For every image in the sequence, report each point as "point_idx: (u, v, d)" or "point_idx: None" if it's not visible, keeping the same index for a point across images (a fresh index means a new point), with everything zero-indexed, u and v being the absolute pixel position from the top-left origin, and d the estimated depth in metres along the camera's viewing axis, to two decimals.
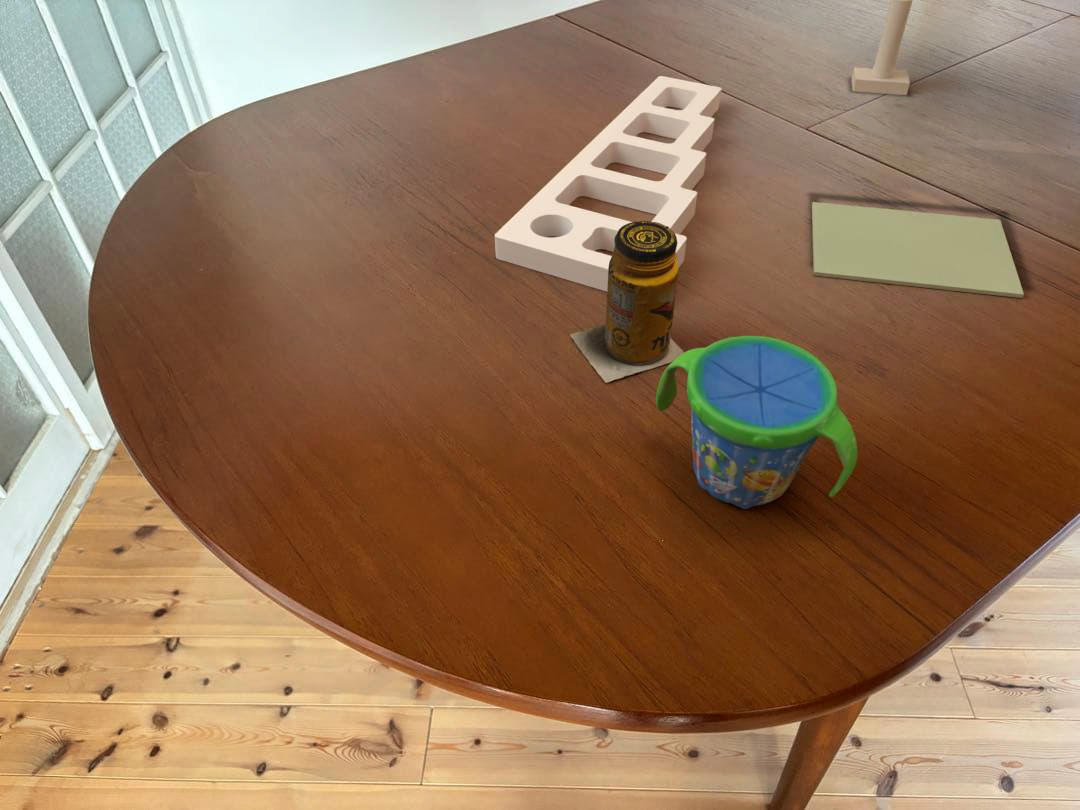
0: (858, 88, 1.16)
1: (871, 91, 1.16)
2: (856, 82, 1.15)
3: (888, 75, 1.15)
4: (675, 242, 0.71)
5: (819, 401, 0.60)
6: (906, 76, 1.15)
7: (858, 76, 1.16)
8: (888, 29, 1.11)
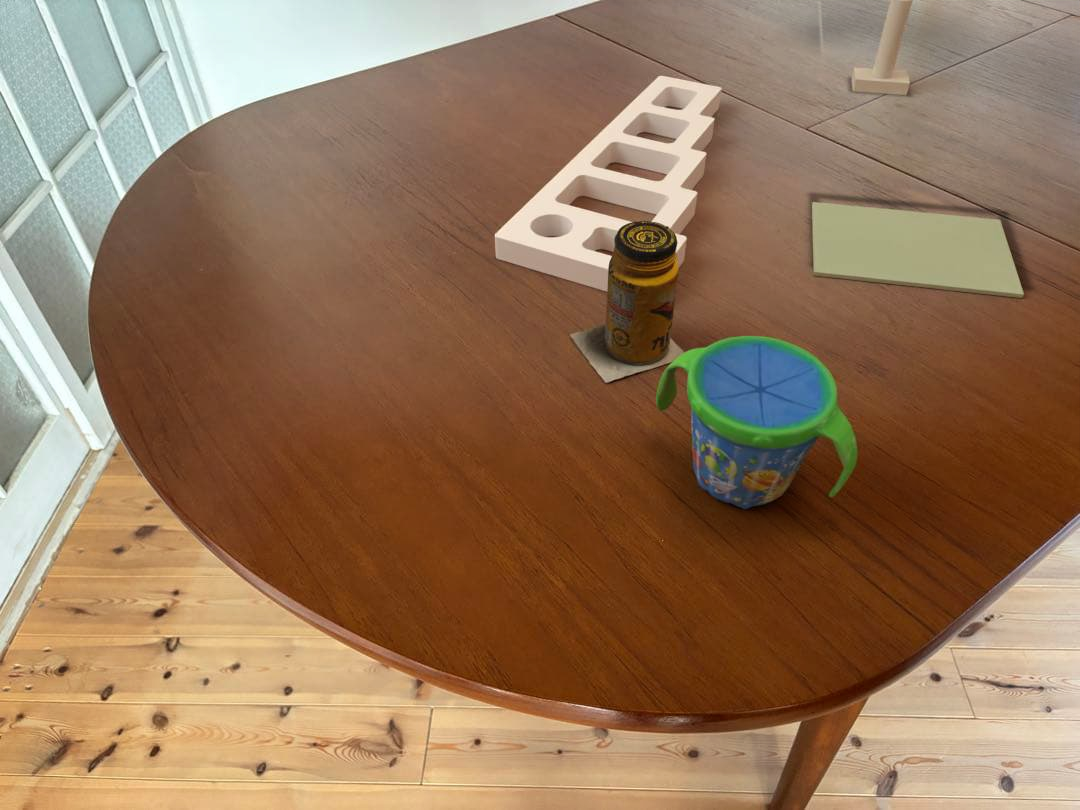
0: (858, 88, 1.16)
1: (871, 91, 1.16)
2: (856, 82, 1.15)
3: (888, 75, 1.15)
4: (675, 242, 0.71)
5: (819, 401, 0.60)
6: (906, 76, 1.15)
7: (858, 76, 1.16)
8: (888, 29, 1.11)
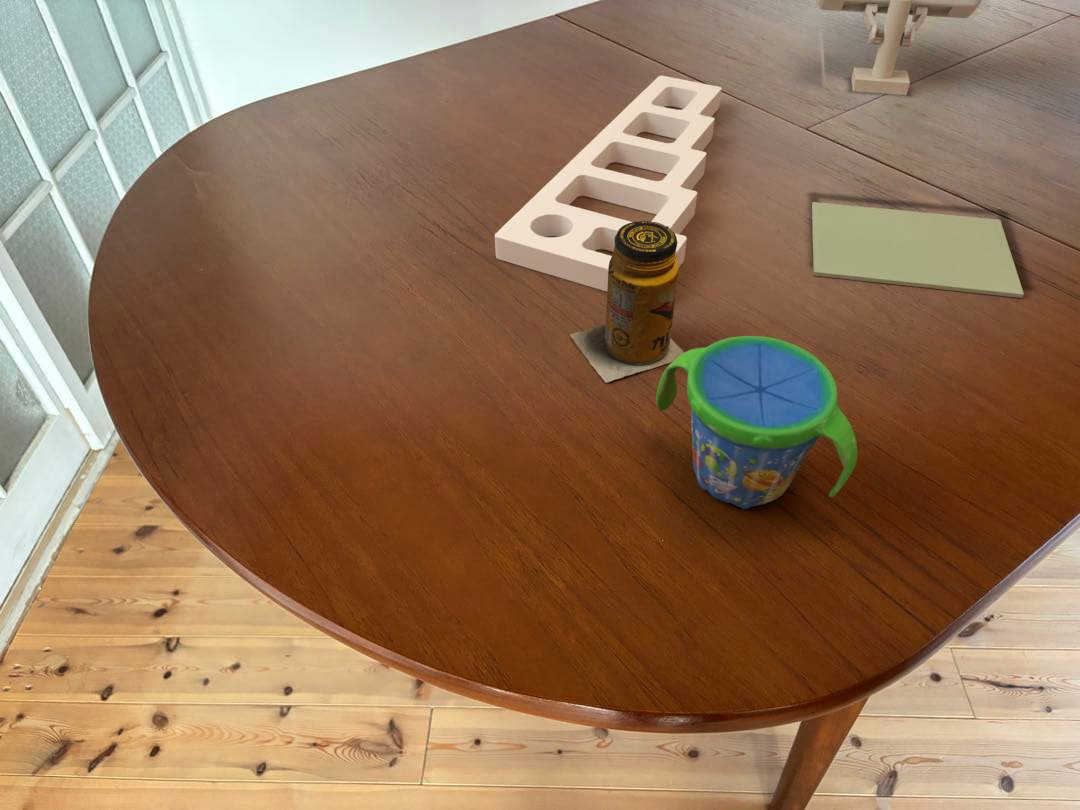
0: (858, 88, 1.16)
1: (871, 91, 1.16)
2: (856, 82, 1.15)
3: (888, 75, 1.15)
4: (675, 242, 0.71)
5: (819, 401, 0.60)
6: (906, 76, 1.15)
7: (858, 76, 1.16)
8: (888, 29, 1.11)
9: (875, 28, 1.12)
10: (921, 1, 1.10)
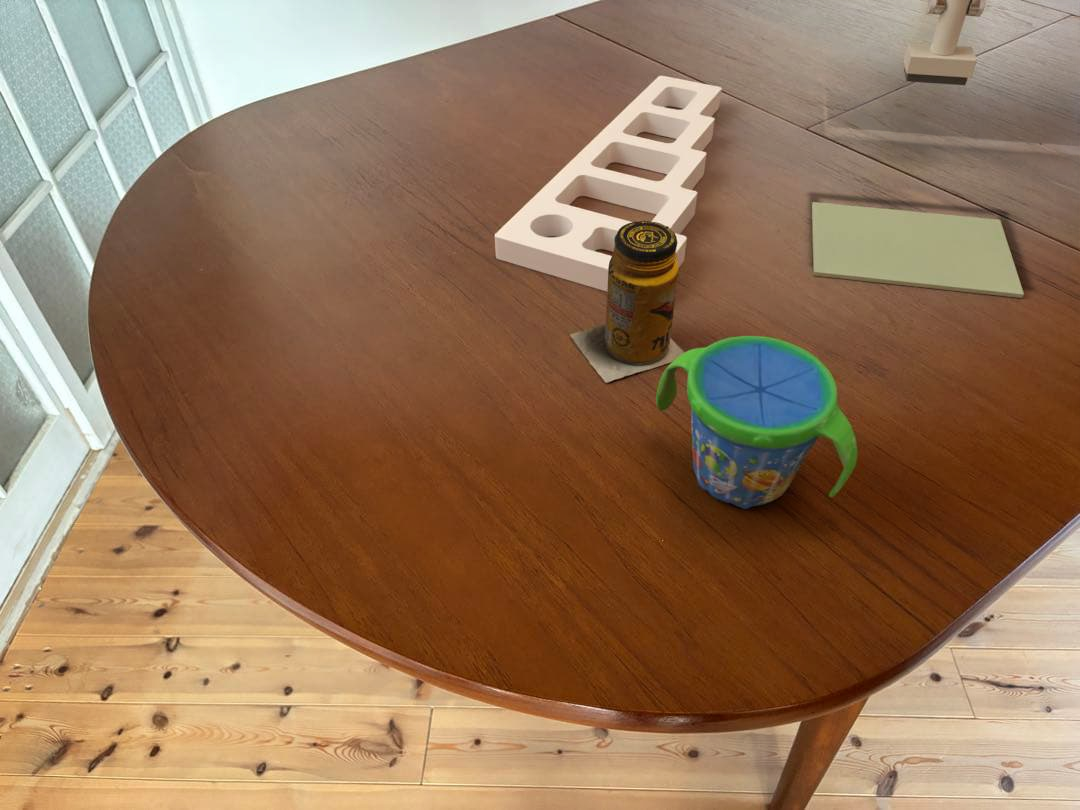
0: (913, 67, 0.97)
1: (929, 71, 0.97)
2: (911, 60, 0.96)
3: (950, 51, 0.96)
4: (675, 242, 0.71)
5: (819, 401, 0.60)
6: (971, 53, 0.96)
7: (913, 52, 0.96)
8: None
9: None
10: None
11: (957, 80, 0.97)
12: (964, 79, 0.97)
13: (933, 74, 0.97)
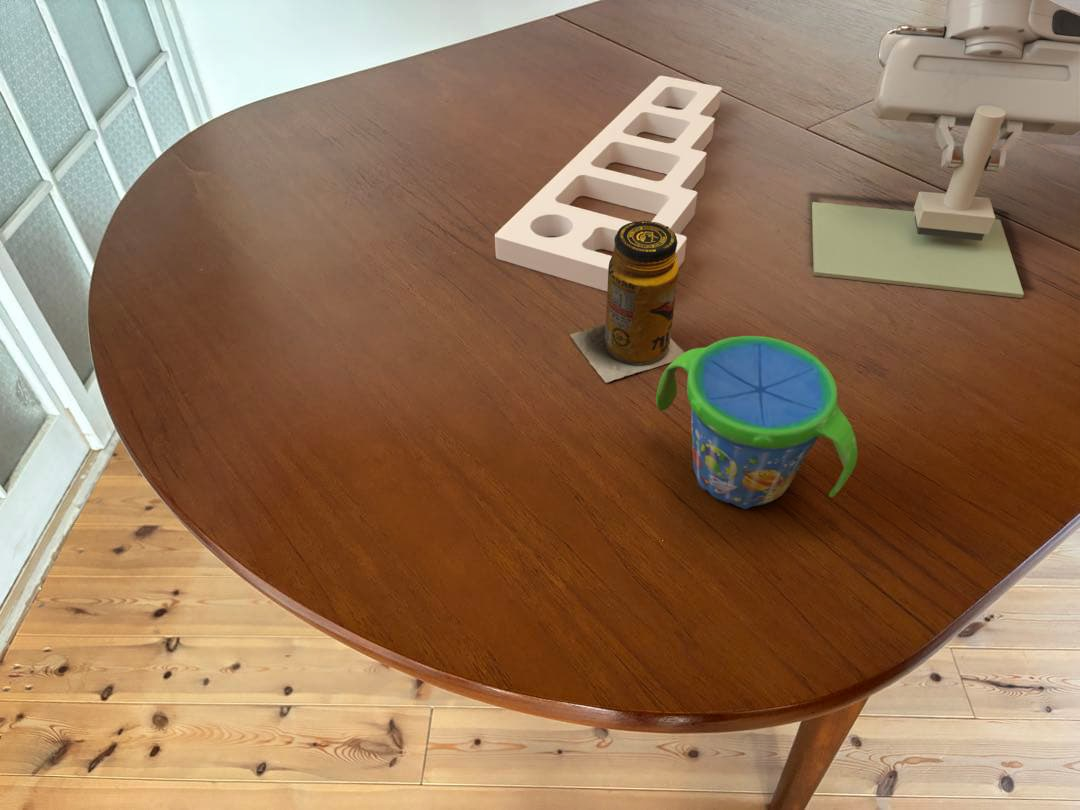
0: (926, 221, 0.88)
1: (943, 225, 0.88)
2: (923, 214, 0.88)
3: (966, 206, 0.87)
4: (675, 242, 0.71)
5: (819, 401, 0.60)
6: (989, 207, 0.88)
7: (926, 205, 0.88)
8: (969, 151, 0.84)
9: (952, 148, 0.85)
10: (1014, 115, 0.83)
11: (973, 235, 0.89)
12: (981, 235, 0.88)
13: (947, 229, 0.89)
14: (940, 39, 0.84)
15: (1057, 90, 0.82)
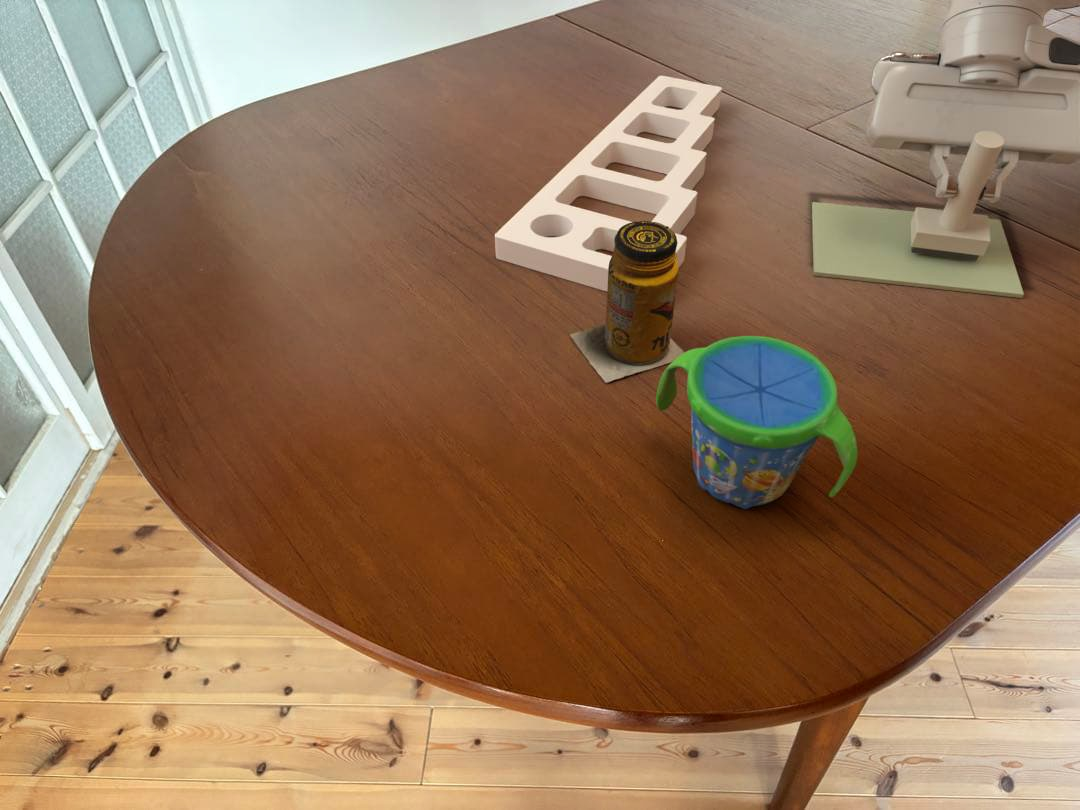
0: (919, 242, 0.87)
1: (937, 246, 0.87)
2: (917, 235, 0.87)
3: (961, 228, 0.86)
4: (675, 242, 0.71)
5: (819, 401, 0.60)
6: (986, 228, 0.86)
7: (920, 226, 0.87)
8: (966, 177, 0.81)
9: (946, 178, 0.83)
10: (1010, 145, 0.81)
11: (968, 256, 0.87)
12: (976, 255, 0.87)
13: (941, 249, 0.87)
14: (934, 67, 0.82)
15: (1054, 119, 0.80)
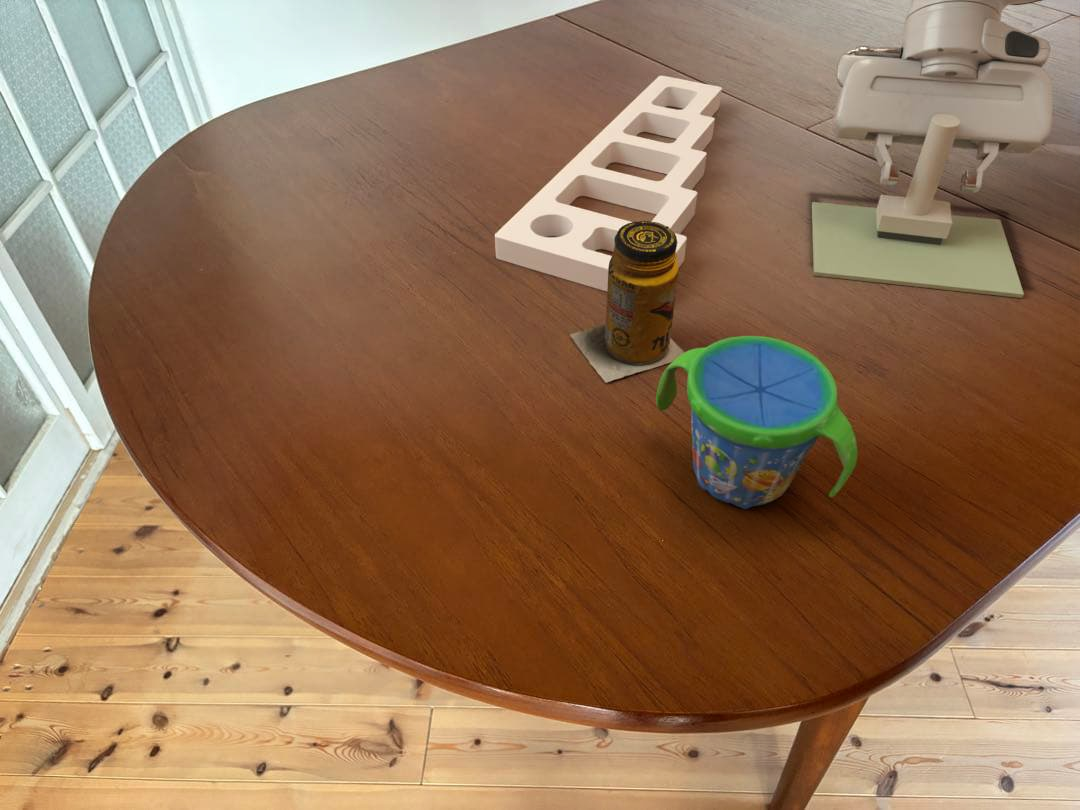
0: (885, 225, 0.90)
1: (901, 230, 0.90)
2: (882, 219, 0.90)
3: (924, 211, 0.89)
4: (675, 242, 0.71)
5: (819, 401, 0.60)
6: (948, 212, 0.89)
7: (885, 210, 0.90)
8: (925, 158, 0.85)
9: (889, 166, 0.86)
10: (970, 135, 0.84)
11: (931, 239, 0.90)
12: (939, 239, 0.90)
13: (906, 233, 0.90)
14: (896, 60, 0.86)
15: (1011, 110, 0.84)
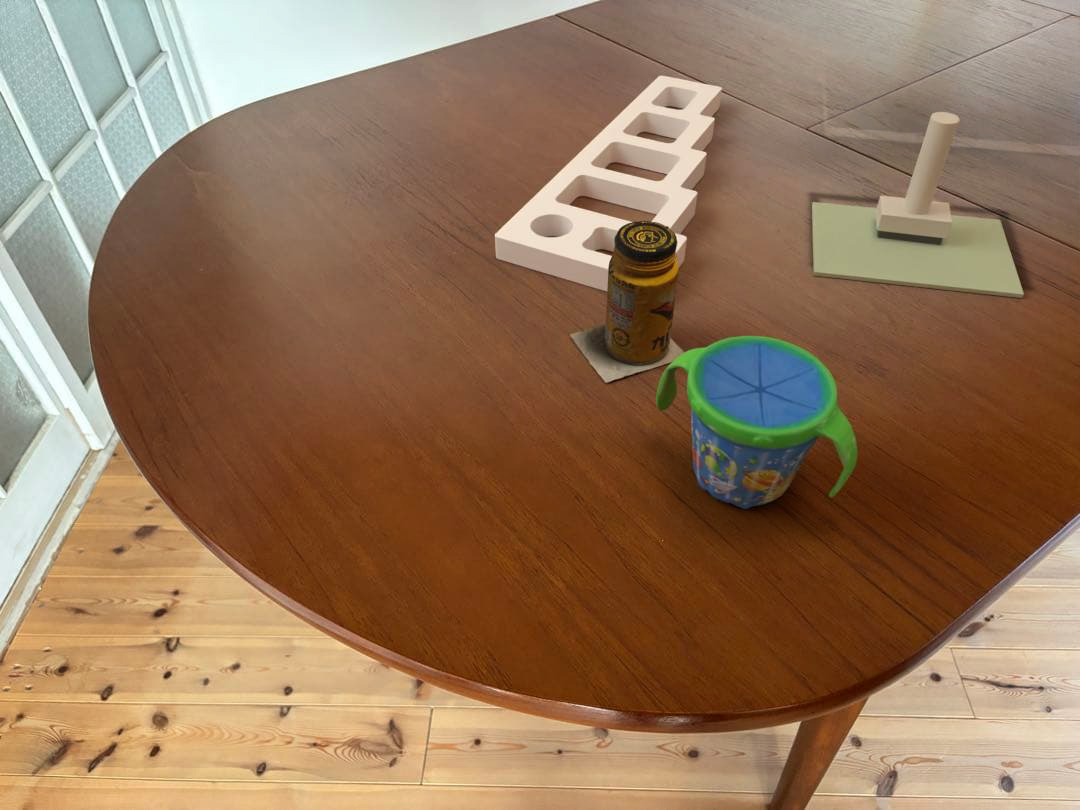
0: (885, 225, 0.90)
1: (901, 229, 0.90)
2: (882, 218, 0.90)
3: (924, 210, 0.89)
4: (675, 242, 0.71)
5: (819, 401, 0.60)
6: (947, 212, 0.89)
7: (885, 209, 0.90)
8: (925, 156, 0.85)
9: None
10: None
11: (931, 239, 0.90)
12: (939, 239, 0.90)
13: (906, 232, 0.90)
14: None
15: None
